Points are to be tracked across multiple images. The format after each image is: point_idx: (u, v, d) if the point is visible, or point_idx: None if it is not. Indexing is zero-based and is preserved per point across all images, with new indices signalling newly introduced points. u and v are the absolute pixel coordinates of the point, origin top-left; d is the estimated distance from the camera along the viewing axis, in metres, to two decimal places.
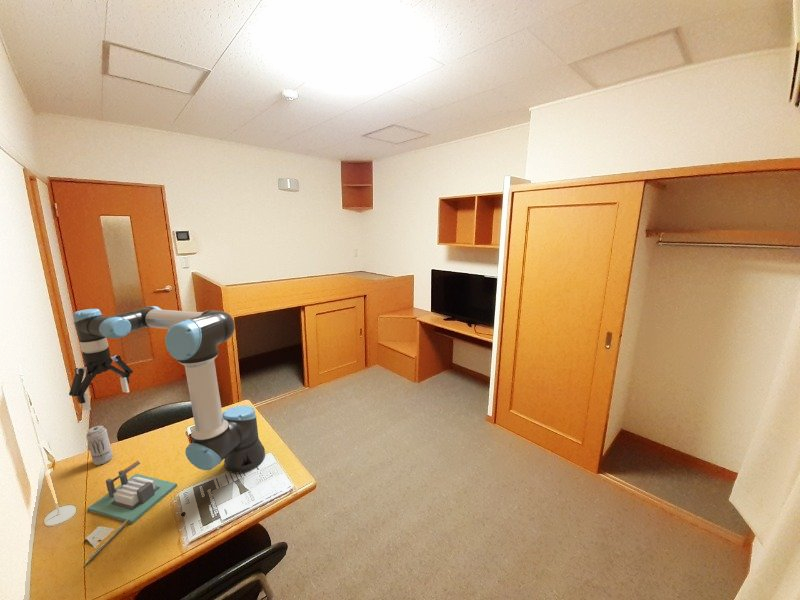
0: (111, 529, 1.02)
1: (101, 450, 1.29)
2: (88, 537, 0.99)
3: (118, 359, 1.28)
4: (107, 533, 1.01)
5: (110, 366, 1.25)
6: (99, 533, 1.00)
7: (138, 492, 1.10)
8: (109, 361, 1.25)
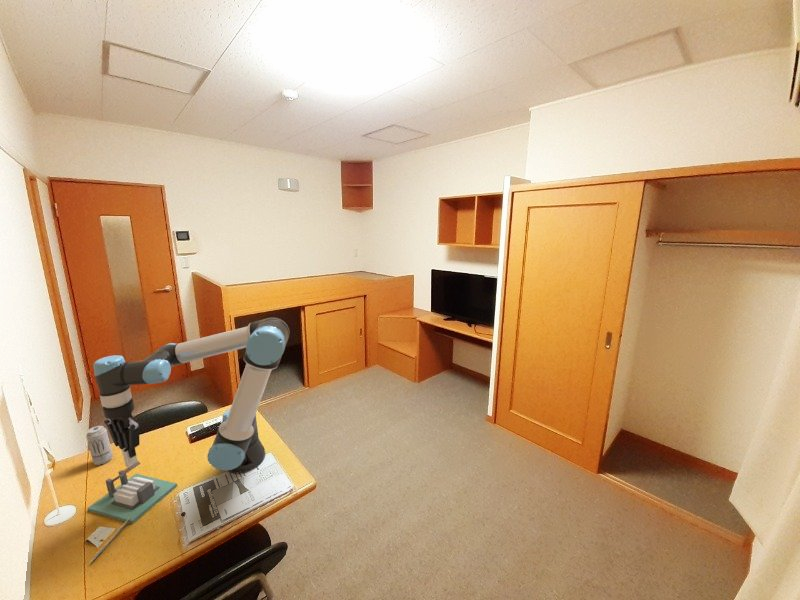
0: (112, 529, 1.02)
1: (101, 450, 1.29)
2: (89, 538, 0.98)
3: (130, 428, 1.04)
4: (109, 533, 1.01)
5: (120, 428, 1.05)
6: (101, 534, 1.00)
7: (138, 492, 1.10)
8: (124, 421, 1.05)
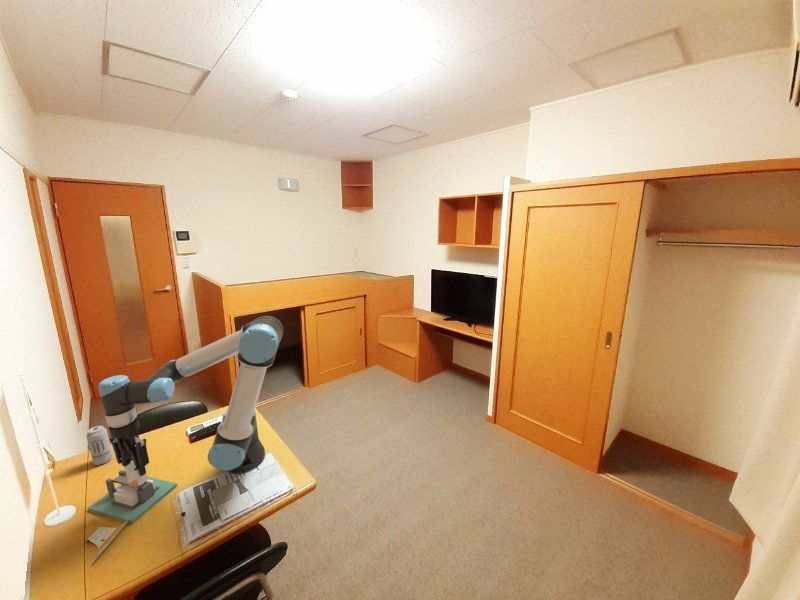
0: (113, 529, 1.02)
1: (101, 450, 1.29)
2: (90, 538, 0.98)
3: (136, 446, 1.06)
4: (109, 533, 1.01)
5: (127, 447, 1.06)
6: (101, 534, 1.00)
7: (138, 492, 1.10)
8: (129, 440, 1.06)
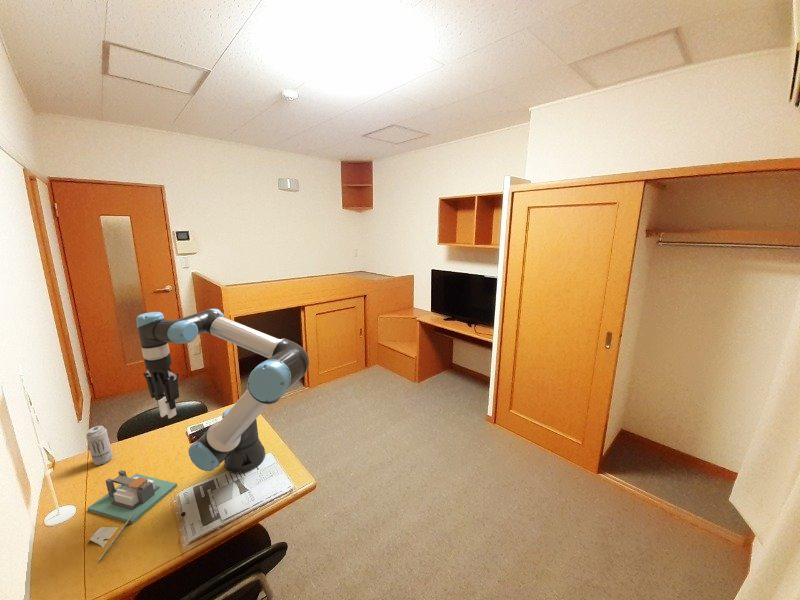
0: (114, 528, 1.02)
1: (101, 450, 1.29)
2: (92, 538, 0.98)
3: (169, 379, 1.12)
4: (111, 532, 1.01)
5: (160, 380, 1.12)
6: (103, 534, 1.00)
7: (138, 492, 1.10)
8: (163, 373, 1.12)
